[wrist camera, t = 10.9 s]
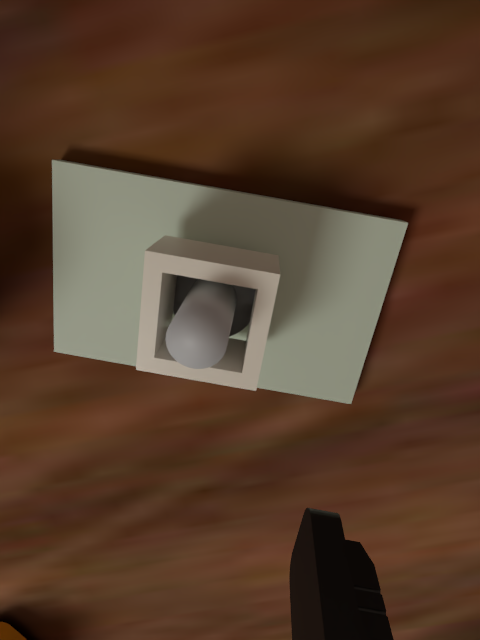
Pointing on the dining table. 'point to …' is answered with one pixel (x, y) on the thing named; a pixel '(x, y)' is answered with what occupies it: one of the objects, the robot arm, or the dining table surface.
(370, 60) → the dining table surface
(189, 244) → the white hollow square block
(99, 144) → the dining table surface
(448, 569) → the dining table surface
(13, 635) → the bracket
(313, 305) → the stand
